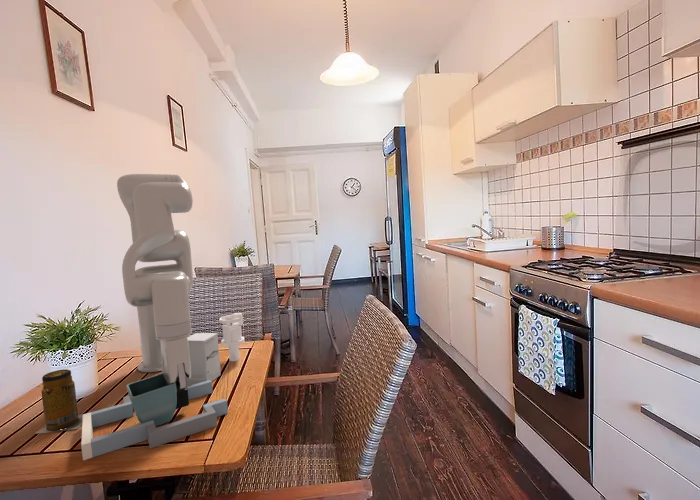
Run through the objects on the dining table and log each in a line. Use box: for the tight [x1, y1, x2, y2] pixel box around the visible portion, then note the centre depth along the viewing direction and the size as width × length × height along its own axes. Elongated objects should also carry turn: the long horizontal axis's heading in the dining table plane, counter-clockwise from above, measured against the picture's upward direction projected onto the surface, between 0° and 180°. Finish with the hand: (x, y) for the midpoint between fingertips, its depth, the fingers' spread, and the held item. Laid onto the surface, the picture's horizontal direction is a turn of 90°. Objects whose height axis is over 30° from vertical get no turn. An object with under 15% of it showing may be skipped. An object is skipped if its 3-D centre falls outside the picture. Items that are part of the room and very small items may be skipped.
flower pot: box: [126, 372, 177, 427], centre depth 85 cm, size 9×9×9 cm
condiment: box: [35, 368, 83, 435], centre depth 87 cm, size 7×8×12 cm
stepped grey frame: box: [80, 380, 229, 461], centre depth 87 cm, size 23×28×3 cm
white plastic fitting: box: [219, 312, 245, 362], centre depth 122 cm, size 7×7×15 cm
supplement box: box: [187, 332, 221, 386], centre depth 108 cm, size 7×7×13 cm
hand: (181, 406), depth 89 cm, fingers closed
